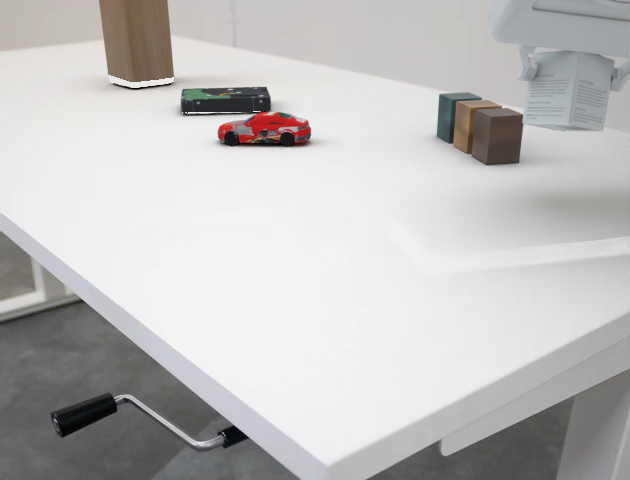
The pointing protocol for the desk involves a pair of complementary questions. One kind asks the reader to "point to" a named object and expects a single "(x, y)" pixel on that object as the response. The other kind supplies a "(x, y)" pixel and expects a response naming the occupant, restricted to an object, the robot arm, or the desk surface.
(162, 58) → the block
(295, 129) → the race car
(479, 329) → the desk surface
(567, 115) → the white cardboard box
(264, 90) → the disk drive
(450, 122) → the block row
